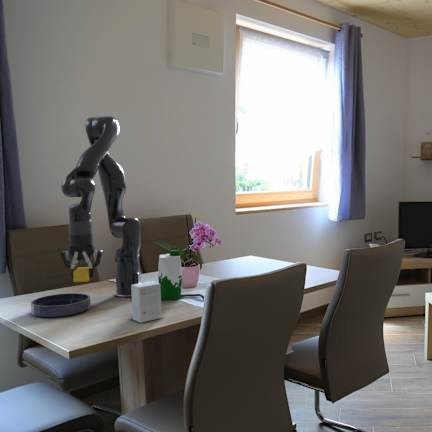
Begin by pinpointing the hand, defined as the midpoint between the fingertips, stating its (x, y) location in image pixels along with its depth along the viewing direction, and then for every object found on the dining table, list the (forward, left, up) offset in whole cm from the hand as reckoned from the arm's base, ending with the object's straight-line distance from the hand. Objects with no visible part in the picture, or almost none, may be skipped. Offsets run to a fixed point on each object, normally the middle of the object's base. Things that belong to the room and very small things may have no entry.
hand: (83, 278), depth 202 cm
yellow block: (0, 0, -1) cm, 1 cm away
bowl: (+10, -7, -14) cm, 19 cm away
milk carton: (-27, -21, -14) cm, 37 cm away
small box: (-23, +9, -14) cm, 28 cm away
